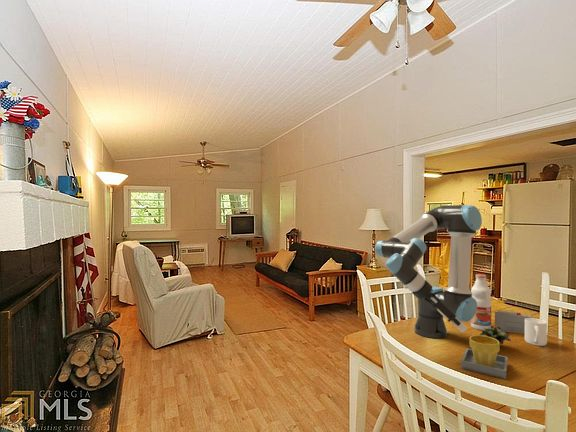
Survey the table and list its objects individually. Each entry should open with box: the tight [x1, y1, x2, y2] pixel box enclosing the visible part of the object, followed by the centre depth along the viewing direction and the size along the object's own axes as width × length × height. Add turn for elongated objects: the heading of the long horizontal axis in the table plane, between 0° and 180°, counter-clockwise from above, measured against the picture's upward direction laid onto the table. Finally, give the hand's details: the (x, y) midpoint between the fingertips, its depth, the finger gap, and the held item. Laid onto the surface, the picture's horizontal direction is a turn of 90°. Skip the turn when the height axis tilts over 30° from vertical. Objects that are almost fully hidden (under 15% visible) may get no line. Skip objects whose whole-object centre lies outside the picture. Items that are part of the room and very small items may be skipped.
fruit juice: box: [470, 273, 492, 331], centre depth 173 cm, size 9×9×28 cm
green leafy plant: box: [479, 325, 512, 345], centre depth 148 cm, size 11×11×12 cm
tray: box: [460, 347, 509, 380], centre depth 130 cm, size 15×15×3 cm
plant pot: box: [468, 334, 501, 367], centre depth 130 cm, size 10×10×10 cm
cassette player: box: [494, 310, 534, 335], centre depth 167 cm, size 16×3×10 cm, turn 63°
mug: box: [524, 317, 548, 347], centre depth 151 cm, size 12×8×10 cm
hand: (457, 324), depth 131 cm, fingers open, 13 cm apart
